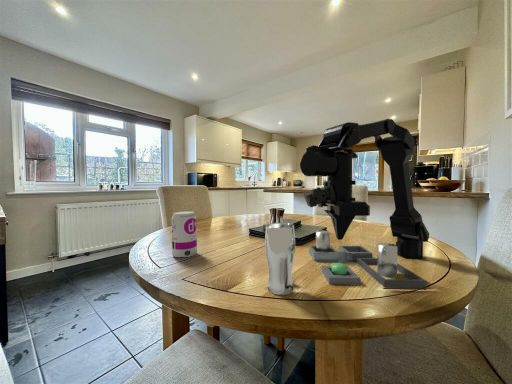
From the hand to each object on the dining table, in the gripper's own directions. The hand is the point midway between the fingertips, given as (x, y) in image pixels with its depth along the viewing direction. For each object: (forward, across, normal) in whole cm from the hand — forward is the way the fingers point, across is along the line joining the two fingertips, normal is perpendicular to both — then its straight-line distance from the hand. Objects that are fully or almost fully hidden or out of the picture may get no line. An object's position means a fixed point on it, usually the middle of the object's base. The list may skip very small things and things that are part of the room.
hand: (339, 239), depth 52 cm
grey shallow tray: (+11, -15, +5) cm, 19 cm away
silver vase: (+11, +4, -15) cm, 19 cm away
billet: (+10, -2, +13) cm, 17 cm away
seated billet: (+10, -15, 0) cm, 18 cm away
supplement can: (+11, -19, -47) cm, 52 cm away
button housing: (+11, 0, 0) cm, 11 cm away
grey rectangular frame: (+11, -2, +13) cm, 17 cm away
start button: (+9, 0, 0) cm, 9 cm away
